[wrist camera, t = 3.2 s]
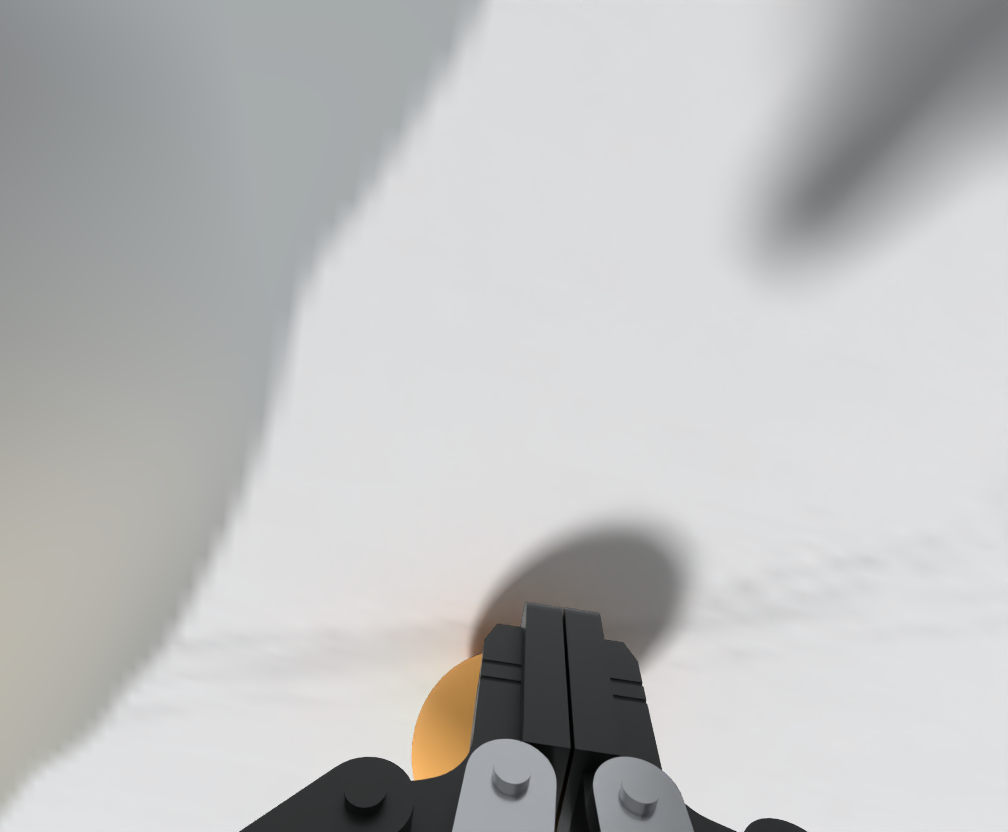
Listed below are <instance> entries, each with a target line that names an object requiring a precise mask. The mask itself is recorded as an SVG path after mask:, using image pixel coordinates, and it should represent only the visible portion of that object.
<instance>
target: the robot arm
mask: <svg viewBox="0 0 1008 832" xmlns="http://www.w3.org/2000/svg"><path fill="white" fill-rule="evenodd" d="M240 832H736V831H734V830H732V829H730V828H727V827H725V826H723V825H721V824H718V823H716V822H714V821H711V820H709V819H707V818H705V817H703V816H701V815H700V814H698V813H697V812H695V811H694V810H692V809H691V808H690V807H688V806H687V805H686V804H685V803H684V800H683V797H682V795H681V792H680V791H679V789H678V787H677V786H676V784H675V783H674V782H673V780H672V779H671V778H670V777H669V776H668V775H667V774H666V773H665V772H663V771H662V768H661V763H660V759H659V754H658V750H657V745H656V741H655V737H654V732H653V728H652V723H651V719H650V714H649V710H648V705H647V704H646V697H645V692H644V688H643V686H642V679H641V674H640V670H639V665H638V661H637V660H636V659H635V657H634V656H633V655H632V653H631V652H630V651H629V649H628V648H627V647H626V645H625V644H624V643H623V642H617V641H611V640H604V636H603V629H602V623H601V617H600V614H599V613H598V612H591V611H584V610H578V609H571V608H564V607H563V609H561V607H556V606H550V605H543V604H536V603H529V602H526V603H525V606H524V611H523V616H522V622H521V627H515V626H509V625H502V624H497V625H496V626H495V627H494V628H493V630H492V631H491V632H490V633H489V635H488V636H487V637H486V638H485V641H484V648H483V654H482V661H481V667H480V674H479V680H478V686H477V693H476V699H475V707H474V715H473V724H472V731H471V739H470V747H469V753H468V755H467V756H466V758H465V759H464V760H463V761H462V762H461V764H460V765H458V766H457V767H456V768H454V769H453V770H451V771H449V772H448V773H446V774H443V775H440V776H437V777H433V778H428V779H422V780H415V781H411V780H410V778H409V777H408V775H407V774H406V773H405V772H404V770H403V769H401V768H400V767H399V766H398V765H396V764H394V763H392V762H391V761H388V760H385V759H382V758H377V757H361V758H356V759H352V760H349V761H346V762H344V763H342V764H340V765H338V766H337V767H335V768H333V769H332V770H330V771H329V772H328V773H326V774H325V775H323V776H322V777H320V778H319V779H317V780H316V781H314V782H313V783H311V784H310V785H308V786H307V787H305V788H304V789H302V790H301V791H299V792H298V793H296V794H295V795H293V796H292V797H290V798H289V799H287V800H286V801H284V802H283V803H281V804H280V805H278V806H277V807H275V808H274V809H272V810H271V811H269V812H268V813H266V814H265V815H263V816H262V817H260V818H259V819H257V820H256V821H254V822H253V823H251V824H250V825H248V826H247V827H245V828H244V829H243V830H241V831H240ZM744 832H807V831H805V830H804V829H802V828H800V827H798V826H796V825H794V824H792V823H789V822H787V821H783V820H779V819H773V818H764V819H759V820H756V821H754V822H752V823H751V824H750V825H749V826H748V827H747V828H746V830H745V831H744Z"/></svg>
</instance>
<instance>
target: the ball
mask: <svg viewBox="0 0 1008 832" xmlns="http://www.w3.org/2000/svg"><path fill="white" fill-rule="evenodd" d="M482 654H483V653H482ZM482 654H479V655H476V656H474V657H471V658H469V659H467V660H465V661H463V662H461V663H460V664H458V665H457V666H455V667H454V668H453V669H451V670H450V671H449V672H448V673H447V674H446V675H445V676H443V677H442V678H441V680H440V681H439V682H438V683H437V684H436V686H435V687H434V688H433V689H432V691H431V692H430V694H429V695H428V697H427V699H426V701H425V703H424V704H423V706H422V709H421V711H420V714H419V716H418V719H417V722H416V726H415V730H414V735H413V742H412V769H413V776H414V781H415V780H422V779H428V778H433V777H437V776H440V775H443V774H446V773H448V772H449V771H451V770H453V769H454V768H456V767H457V766H458V765H460V764H461V762H462V761H463V760H464V759H465V758H466V756H467V755H468V753H469V747H470V739H471V731H472V724H473V715H474V707H475V699H476V693H477V686H478V680H479V674H480V667H481V661H482Z"/></svg>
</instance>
